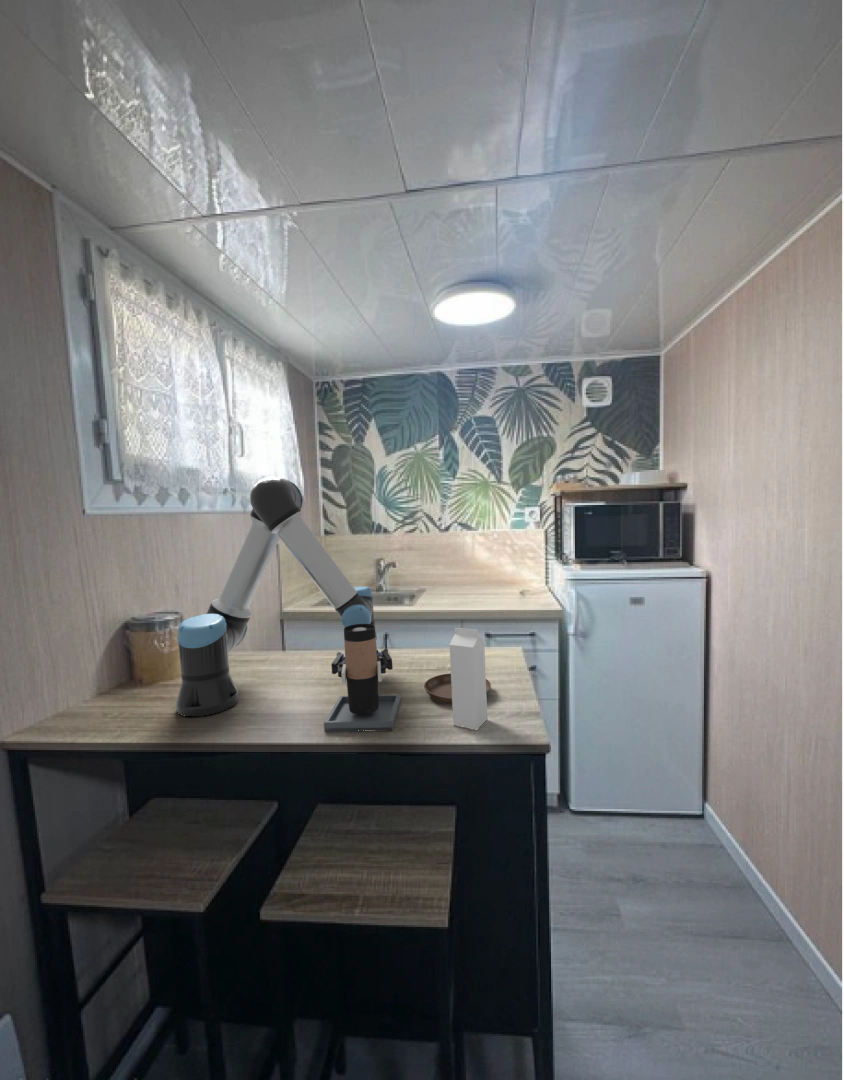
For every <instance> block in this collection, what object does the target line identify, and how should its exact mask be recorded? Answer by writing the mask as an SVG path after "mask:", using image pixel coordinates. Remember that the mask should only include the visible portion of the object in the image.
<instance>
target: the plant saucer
mask: <svg viewBox="0 0 844 1080" xmlns="http://www.w3.org/2000/svg"><path fill="white" fill-rule="evenodd" d="M423 687H424V690H425V691H426V693H427V694H428V695H429V696H430V698H432V699H433V700H434V701H436V702H438V703H440V704H444V705H448V704H449V706H452V686H451V672H450V673H443V674H438V675H436V676H433V677H430V678H429V679H427V680H426V681H425V682H424V685H423ZM491 687H492V684H491V682H490V680H488V679H487V678H486V695H487V694H488V693H489V691H490V689H491Z"/></svg>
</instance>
